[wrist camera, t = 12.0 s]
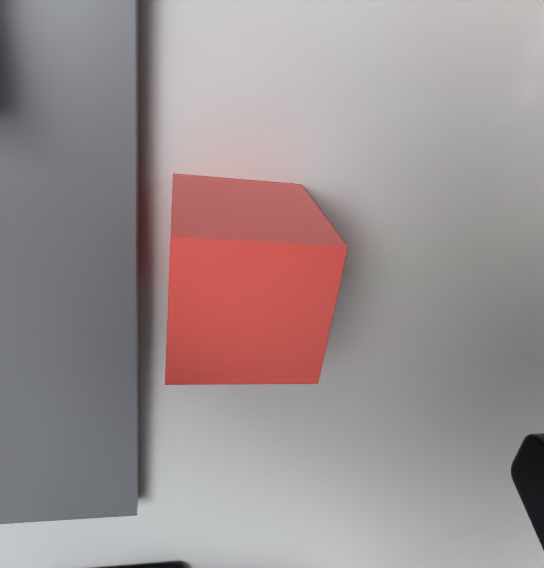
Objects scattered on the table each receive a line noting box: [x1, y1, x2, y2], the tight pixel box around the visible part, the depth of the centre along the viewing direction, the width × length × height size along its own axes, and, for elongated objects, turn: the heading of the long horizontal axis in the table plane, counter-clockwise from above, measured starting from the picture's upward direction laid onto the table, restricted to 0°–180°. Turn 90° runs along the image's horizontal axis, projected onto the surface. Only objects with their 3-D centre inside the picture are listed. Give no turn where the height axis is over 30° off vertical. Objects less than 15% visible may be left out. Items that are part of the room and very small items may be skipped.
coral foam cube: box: [165, 174, 348, 385], centre depth 14 cm, size 4×4×5 cm
